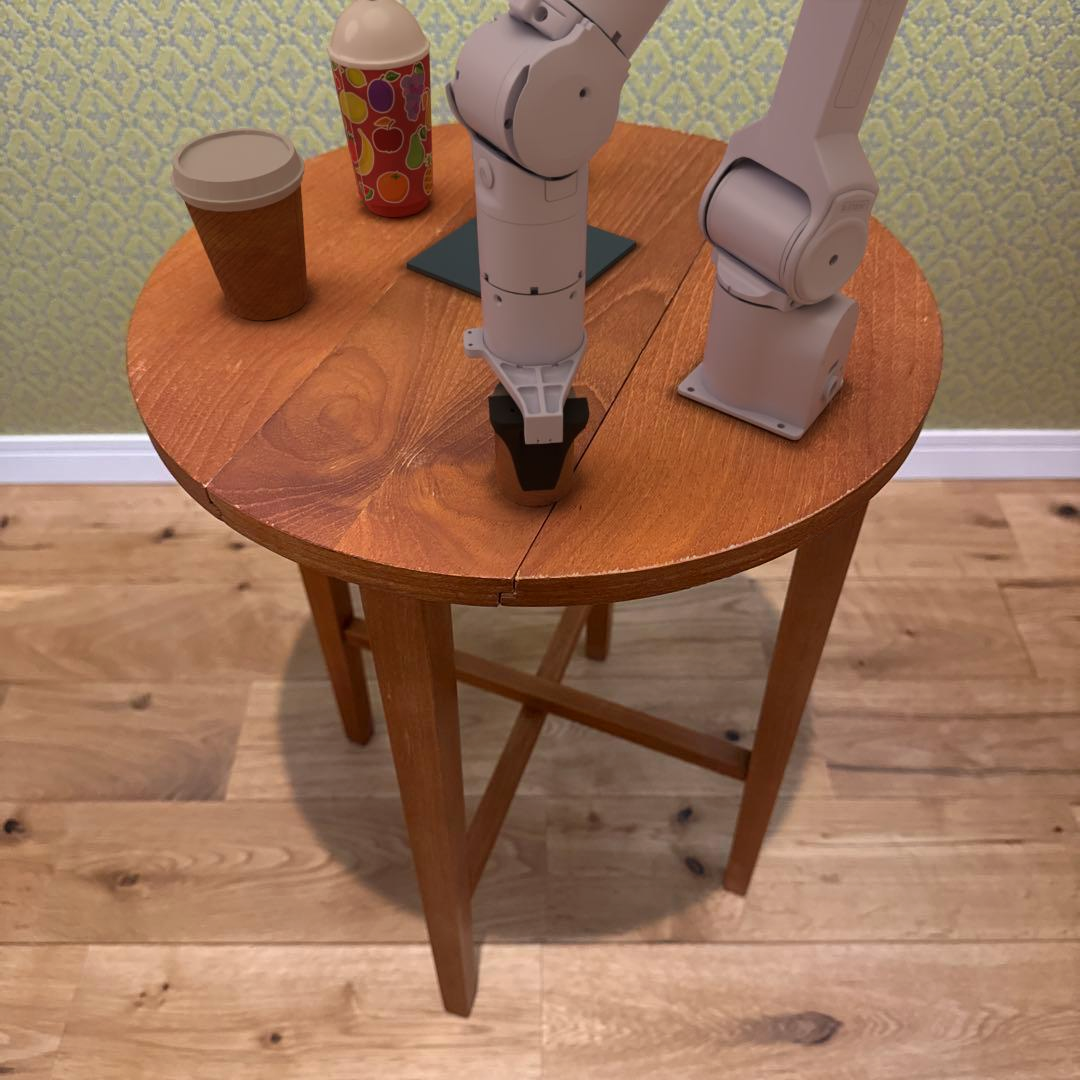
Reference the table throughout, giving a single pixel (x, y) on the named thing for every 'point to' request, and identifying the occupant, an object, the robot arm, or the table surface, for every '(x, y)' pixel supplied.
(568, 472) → the cylinder
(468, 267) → the mat
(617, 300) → the table surface
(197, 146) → the disposable coffee cup
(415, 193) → the smoothie
